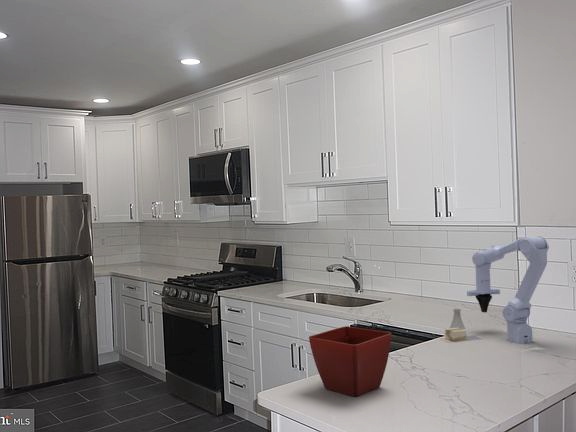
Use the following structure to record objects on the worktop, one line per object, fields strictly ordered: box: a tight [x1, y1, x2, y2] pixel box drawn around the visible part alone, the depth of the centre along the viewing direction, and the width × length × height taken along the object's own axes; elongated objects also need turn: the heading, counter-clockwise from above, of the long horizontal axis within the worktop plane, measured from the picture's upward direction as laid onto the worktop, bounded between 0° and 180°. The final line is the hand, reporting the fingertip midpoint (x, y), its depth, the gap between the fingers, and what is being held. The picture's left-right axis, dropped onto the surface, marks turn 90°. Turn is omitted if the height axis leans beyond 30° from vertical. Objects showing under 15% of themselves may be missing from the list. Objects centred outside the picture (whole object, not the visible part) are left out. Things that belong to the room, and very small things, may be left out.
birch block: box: [444, 327, 467, 343], centre depth 220 cm, size 6×6×4 cm
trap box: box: [439, 334, 489, 343], centre depth 221 cm, size 7×18×2 cm, turn 102°
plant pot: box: [308, 325, 392, 397], centre depth 169 cm, size 19×19×17 cm
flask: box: [449, 308, 466, 330], centre depth 240 cm, size 7×7×10 cm
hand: (484, 312), depth 229 cm, fingers closed
